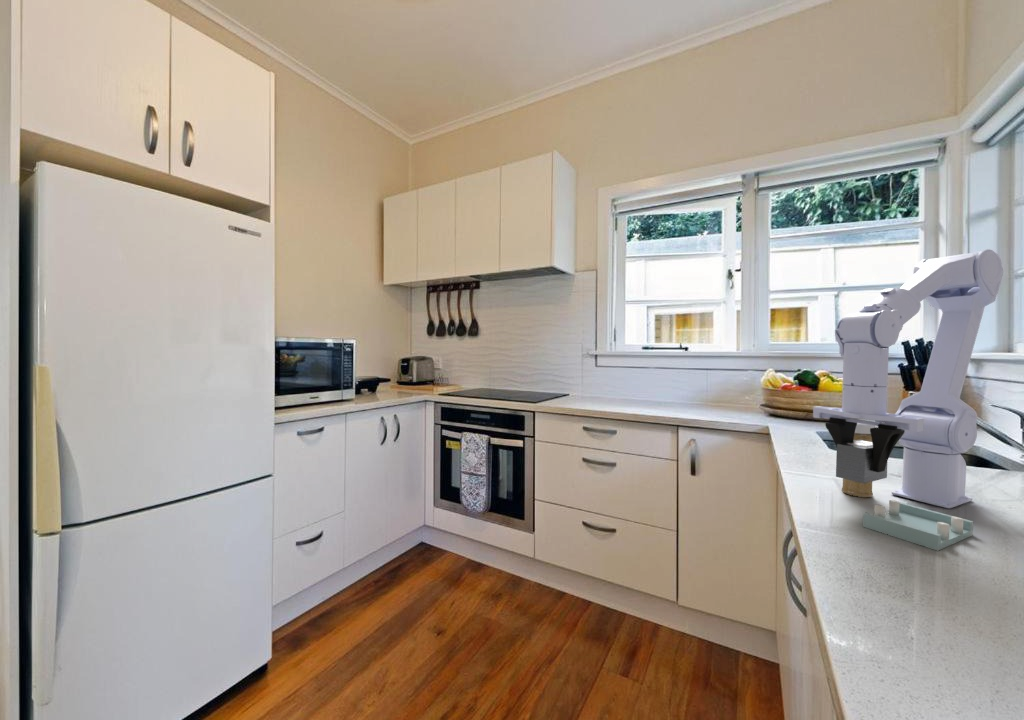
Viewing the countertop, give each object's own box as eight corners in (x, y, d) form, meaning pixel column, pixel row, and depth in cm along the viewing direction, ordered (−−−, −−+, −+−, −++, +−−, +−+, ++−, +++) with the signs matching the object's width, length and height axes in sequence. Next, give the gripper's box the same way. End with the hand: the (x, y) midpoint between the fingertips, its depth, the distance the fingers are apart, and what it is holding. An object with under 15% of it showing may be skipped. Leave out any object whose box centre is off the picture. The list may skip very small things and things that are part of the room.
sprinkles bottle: (876, 495, 79) (879, 422, 78) (867, 500, 76) (869, 424, 76) (846, 488, 82) (848, 418, 82) (836, 492, 80) (838, 420, 79)
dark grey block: (858, 471, 75) (859, 439, 74) (886, 477, 71) (888, 444, 71) (835, 476, 71) (836, 443, 71) (864, 483, 68) (865, 448, 68)
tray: (899, 514, 70) (899, 497, 70) (972, 535, 62) (973, 515, 62) (862, 526, 65) (863, 508, 65) (937, 550, 57) (938, 529, 57)
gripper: (803, 382, 75) (801, 459, 76) (908, 390, 62) (905, 483, 63) (826, 381, 79) (824, 455, 79) (931, 388, 66) (928, 476, 66)
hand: (862, 467), depth 71 cm, fingers closed on dark grey block, 4 cm apart
